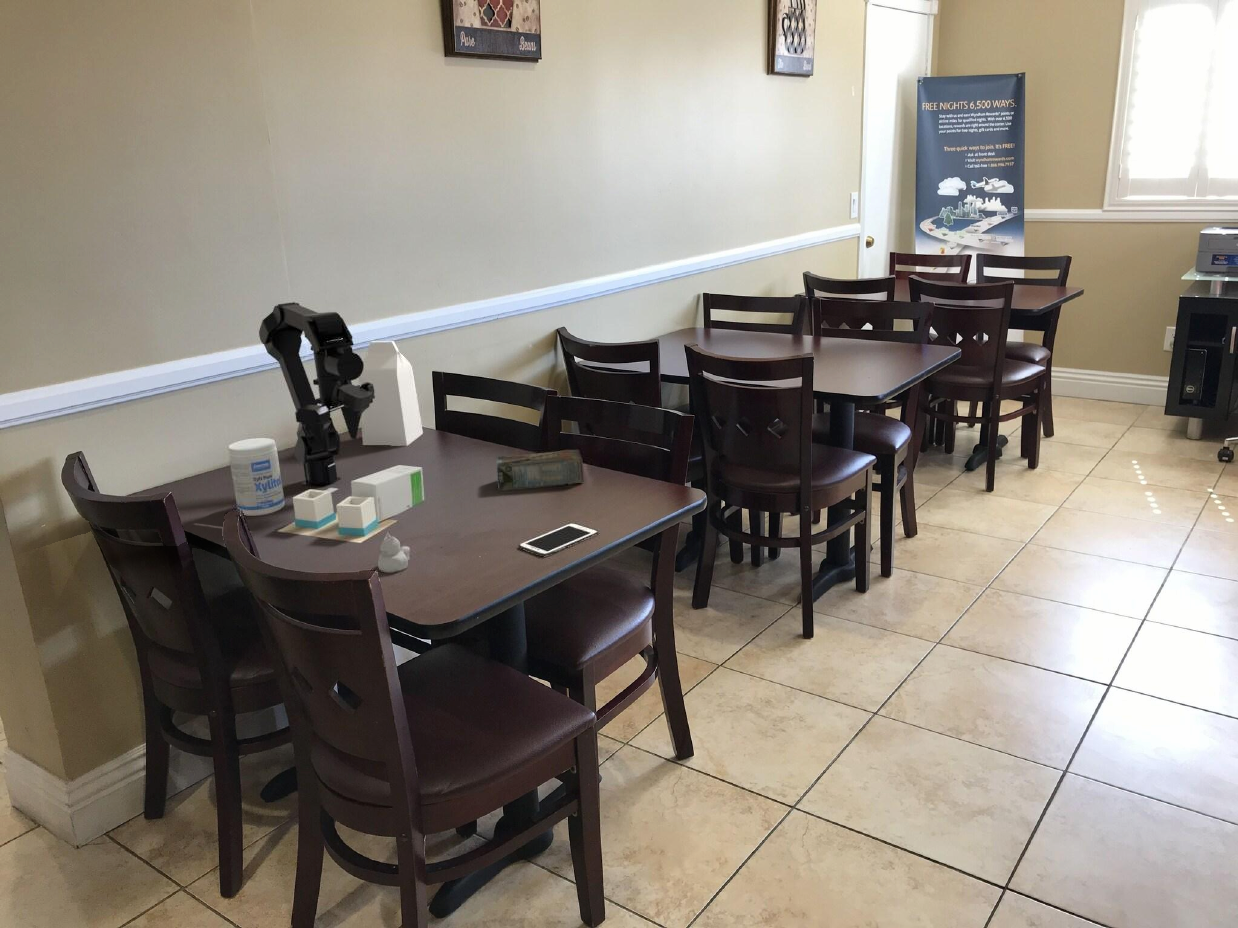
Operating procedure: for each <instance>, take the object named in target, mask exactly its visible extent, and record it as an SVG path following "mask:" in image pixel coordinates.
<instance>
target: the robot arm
mask: <svg viewBox="0 0 1238 928" xmlns="http://www.w3.org/2000/svg"><path fill="white" fill-rule="evenodd" d="M303 333H304V338H305V339H306V340H308V342H309V344H310V345H311V347H310V350H311V351H313V360H314V366H315V372H316V373H315V374H316V378H315V379H312V382H313V383H312V385H313V386H317V388H318V393H319V397H318V398H316V397H315V394H314V391H313V389H312V386H311V383H310V381H309V378H308V374H307V372H306V369H305V367H304V363H303V361H302V359H301V355H300V351H301V347H302V343H303V340H302V339H303V338H302V335H303ZM258 337H259V339H260V342H261V344H263V346H264V348H265V350H266V352H267V354H268V355H270V356H271V357H272V358H273V359H274V360H276V361H277V362H278V364H279V366H280V369H281V372H282V374H283V377H284V381H285V382H286V385H287V388H288V391H289V393H290V398H291V400H292V402H293V404H294V408H295V410H296V411H294V414H295V421H296V423H298V426H297V430H296V436H297V440H296V444H295V446H294V449H293V453H294V457H295V459H296V460H297V461H298V462H300V463H302V465H303V471H304V478H305V481H303V482H301V483H300V485H301V486H305V485H306V486H308V487H316V488H325V487H327V486H329V485H332V484H334V483H335V482H338V481H340V480H342V477H340V476H338V472H337V468H336V467H337V466H336V463H335V459H334V456H340V446H341V445H340V444H341V443H340V442H341V437H340V434H339V432H338V431H337V429H336V427H335V426H334V423H333V419H332V417H331V413H332V412H335V411H337V410H341V414H342V416H343V419H344V423H345V425H346V429H347V431H348V434H349V436H350V438H351V440H353V439H357V436H358V431H359V426H360V422H361V415H362V413H363V412H364V411H365V410H366V409H367V408H369V406H370V403H373V399H374V398H375V395H374V393H375V392H374V387H373V384H371V383H369V382H366V383H364V384H362V385H361V386H360V385H359V384H358V385H354V384H353V382H352V381H355V380H357V379H358V377H359V376H360V375H361V374H362V372H363V368H364V364H363V361H364V360H363V359H362V358H361V356H360V355H359V354H357V353H355V352H353V347H352V346H354V341H353V339H354V338H353V335H352V333H351V332H350V330H349V328H348V326H347V324H346V322H345V320H344V318H343V317H341V315H340V314H339V313H338V312H336V311H328V312H327V311H326V312H325V311H324V312H317V311H314V310H312V309H310V308H307V307H304V306H302V305H300V303H299V302H293V301H292V302H286V303H284V302H283V303H278V304H277V305H274V307H273V310H272V312H270V313H269V314H268V315H267V316H266V317H264V318H263V320H262V321H261V324H260V327H259V329H258ZM318 404H319V405H318Z"/></svg>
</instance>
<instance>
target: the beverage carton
mask: <svg viewBox="0 0 1238 928" xmlns="http://www.w3.org/2000/svg"><path fill="white" fill-rule="evenodd" d="M495 464H496V465H495V469H496V474H497V484H498V485H497V487H498V491H501V492H502V491H511V490H513V491H514V490H525V489H526V490H527V489H537V488H546V487H547V488H548V487H554V486H555V487H556V486H557V485H558V486H566V485H565V484H568V485H573V484H572V483H581V484H583V483H584V463H583V458H582V456H581V453H580V450H579V449H564V450H559V451H550V452H549V451H547V452H538V453H529V454H517V455H503V456H502V455H501V456H497V457H496V463H495Z"/></svg>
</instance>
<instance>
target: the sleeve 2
mask: <svg viewBox="0 0 1238 928" xmlns="http://www.w3.org/2000/svg"><path fill="white" fill-rule="evenodd" d="M335 505H336V506H335V507H336V513H337V515H338V522H339V527H338V533H339V535H353V536H366V535H367V534H368V533H370V532H371V531H372V530H373V529H375V528H376V527H377V526H379V525H378V518H376V512H375V505H374V497H357V496H352V495H349V496H348V497H346V498H344V499H343V500H341V501H340V502H339V503H338V504H335Z"/></svg>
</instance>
